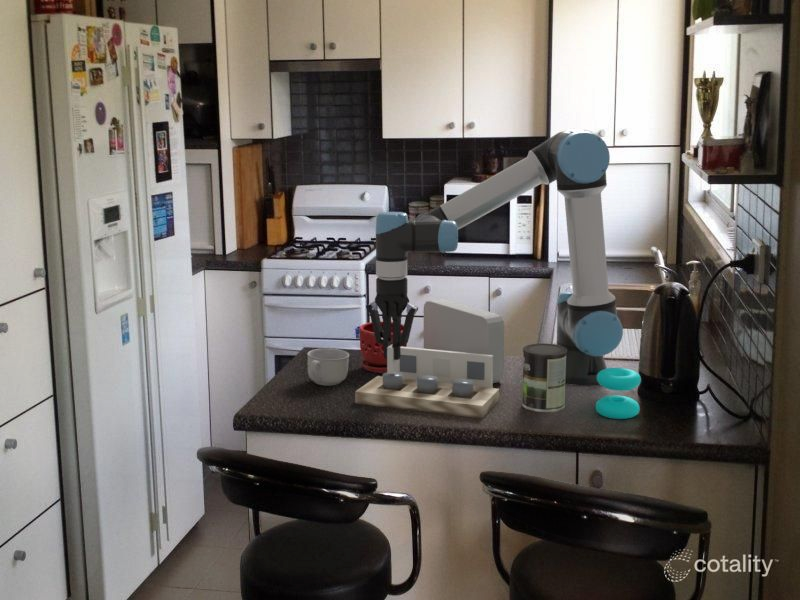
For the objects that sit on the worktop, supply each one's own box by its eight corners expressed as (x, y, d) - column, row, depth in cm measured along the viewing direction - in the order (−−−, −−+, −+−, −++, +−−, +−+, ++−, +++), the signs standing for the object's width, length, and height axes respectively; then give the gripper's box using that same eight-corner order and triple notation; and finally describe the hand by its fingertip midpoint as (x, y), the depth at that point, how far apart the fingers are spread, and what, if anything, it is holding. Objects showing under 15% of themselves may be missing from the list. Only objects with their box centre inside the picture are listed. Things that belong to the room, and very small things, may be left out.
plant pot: (354, 374, 258) (353, 330, 255) (367, 361, 270) (366, 319, 268) (401, 377, 255) (401, 333, 252) (412, 364, 267) (412, 322, 265)
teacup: (326, 374, 258) (325, 345, 257) (358, 380, 252) (357, 351, 250) (291, 387, 247) (290, 357, 245) (323, 394, 241) (323, 363, 239)
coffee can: (524, 412, 226) (525, 354, 223) (520, 399, 236) (521, 343, 233) (568, 412, 226) (570, 354, 223) (562, 399, 236) (563, 343, 233)
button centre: (440, 388, 235) (440, 376, 234) (433, 394, 230) (433, 382, 230) (421, 386, 237) (421, 374, 236) (414, 391, 232) (414, 379, 232)
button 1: (406, 384, 238) (406, 372, 238) (398, 390, 234) (398, 378, 233) (387, 382, 240) (387, 370, 239) (379, 388, 235) (379, 376, 235)
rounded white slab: (510, 382, 250) (511, 314, 246) (487, 387, 246) (488, 318, 242) (445, 358, 273) (445, 296, 269) (423, 362, 269) (423, 299, 265)
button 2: (476, 392, 232) (476, 380, 231) (469, 398, 227) (469, 385, 226) (456, 390, 233) (456, 378, 233) (449, 395, 229) (449, 383, 228)
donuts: (598, 365, 229) (642, 367, 226) (597, 405, 231) (640, 408, 228) (595, 376, 219) (640, 379, 217) (593, 418, 221) (638, 422, 219)
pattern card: (494, 391, 242) (495, 353, 240) (489, 397, 237) (489, 358, 235) (398, 381, 251) (397, 344, 249) (391, 386, 247) (390, 348, 245)
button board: (499, 400, 235) (499, 388, 234) (482, 418, 222) (482, 405, 221) (377, 387, 246) (377, 375, 246) (355, 403, 234) (355, 391, 233)
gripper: (422, 276, 232) (422, 370, 237) (372, 272, 237) (373, 365, 242) (411, 281, 225) (411, 378, 230) (360, 277, 230) (361, 373, 235)
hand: (392, 371), depth 236 cm, fingers closed
